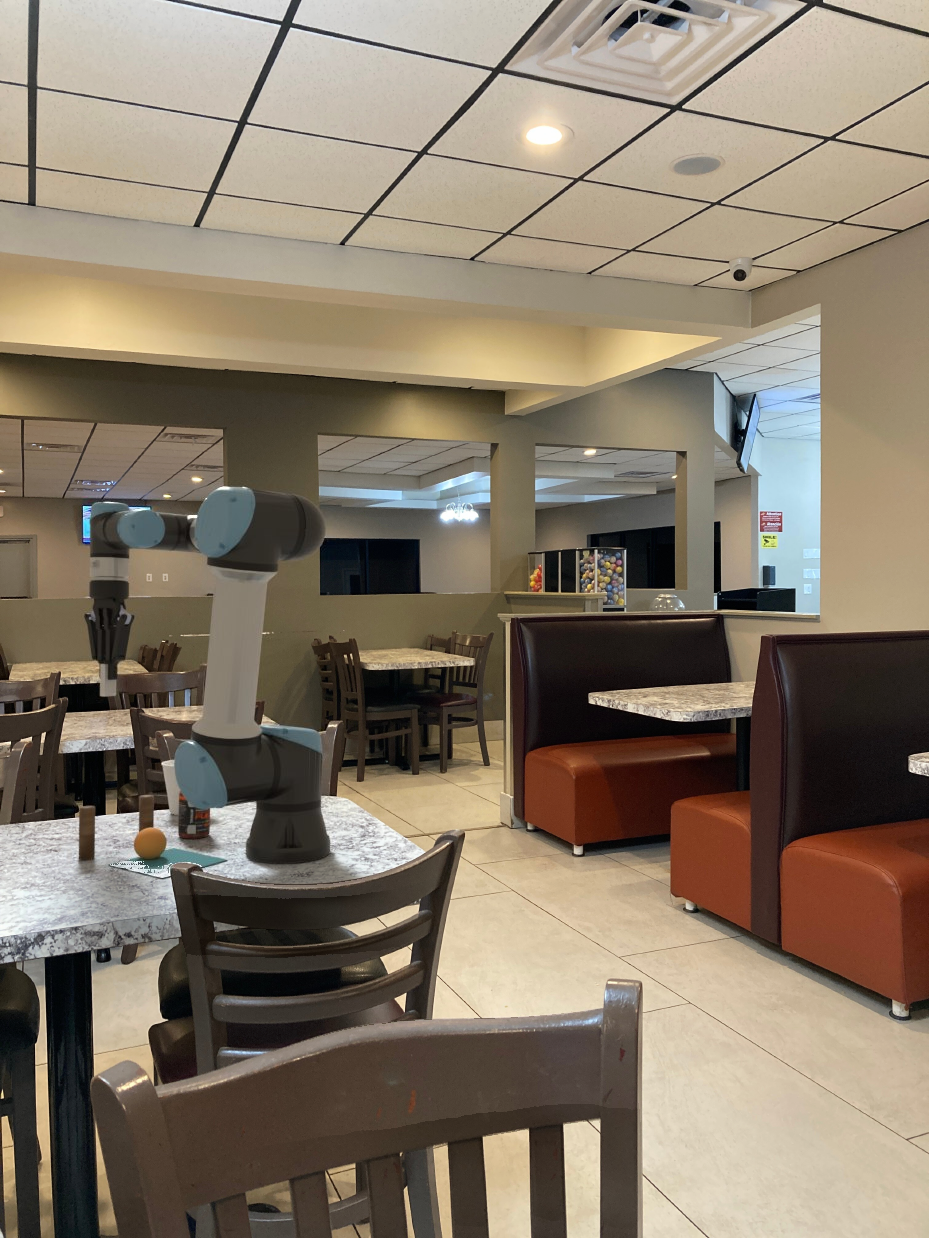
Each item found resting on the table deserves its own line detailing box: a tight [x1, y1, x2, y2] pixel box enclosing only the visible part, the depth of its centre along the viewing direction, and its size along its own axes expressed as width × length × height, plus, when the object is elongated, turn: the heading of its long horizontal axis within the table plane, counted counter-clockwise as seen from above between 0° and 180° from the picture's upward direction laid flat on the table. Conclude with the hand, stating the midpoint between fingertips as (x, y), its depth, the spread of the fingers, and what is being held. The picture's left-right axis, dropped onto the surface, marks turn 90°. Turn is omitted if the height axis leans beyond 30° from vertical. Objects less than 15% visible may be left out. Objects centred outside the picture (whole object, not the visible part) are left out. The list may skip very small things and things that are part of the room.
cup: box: [161, 759, 181, 816], centre depth 203 cm, size 10×10×11 cm
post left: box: [78, 805, 96, 861], centre depth 165 cm, size 3×3×9 cm
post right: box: [138, 794, 155, 833], centre depth 176 cm, size 3×3×9 cm
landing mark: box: [108, 847, 228, 873], centre depth 163 cm, size 14×14×1 cm
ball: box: [133, 827, 167, 859], centre depth 165 cm, size 6×6×6 cm
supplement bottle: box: [177, 791, 211, 840], centre depth 183 cm, size 6×6×11 cm
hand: (108, 695), depth 190 cm, fingers closed
